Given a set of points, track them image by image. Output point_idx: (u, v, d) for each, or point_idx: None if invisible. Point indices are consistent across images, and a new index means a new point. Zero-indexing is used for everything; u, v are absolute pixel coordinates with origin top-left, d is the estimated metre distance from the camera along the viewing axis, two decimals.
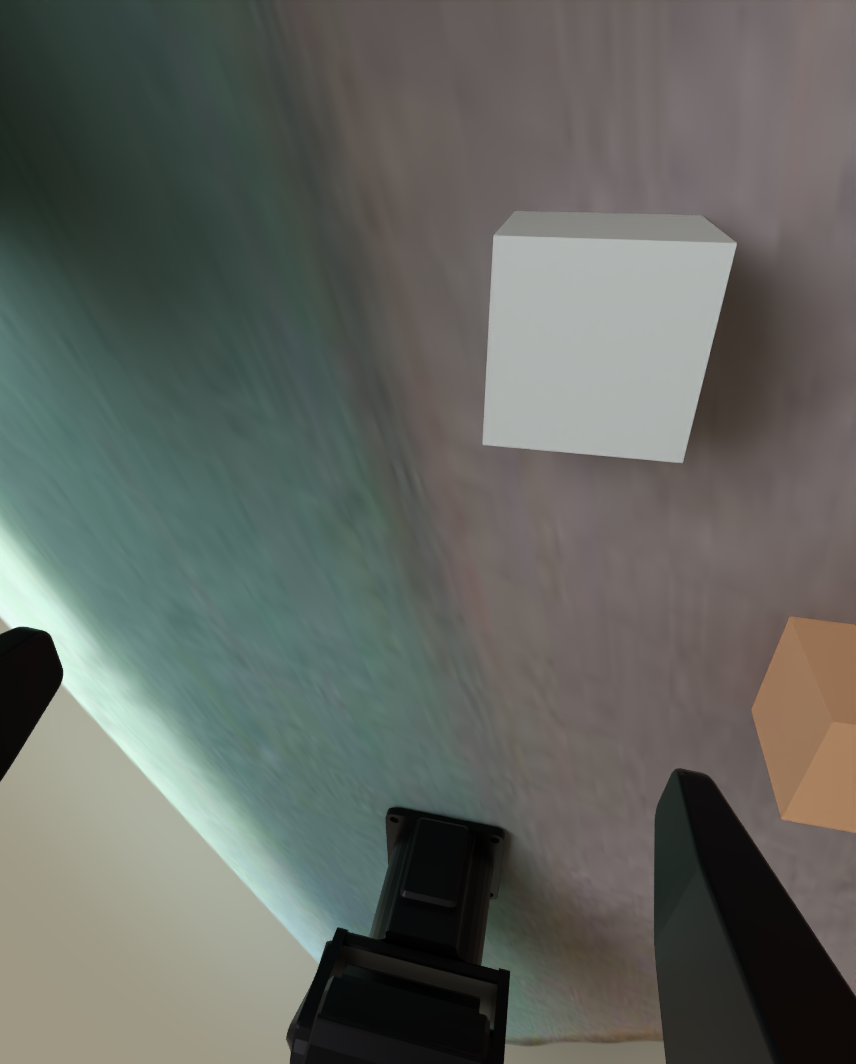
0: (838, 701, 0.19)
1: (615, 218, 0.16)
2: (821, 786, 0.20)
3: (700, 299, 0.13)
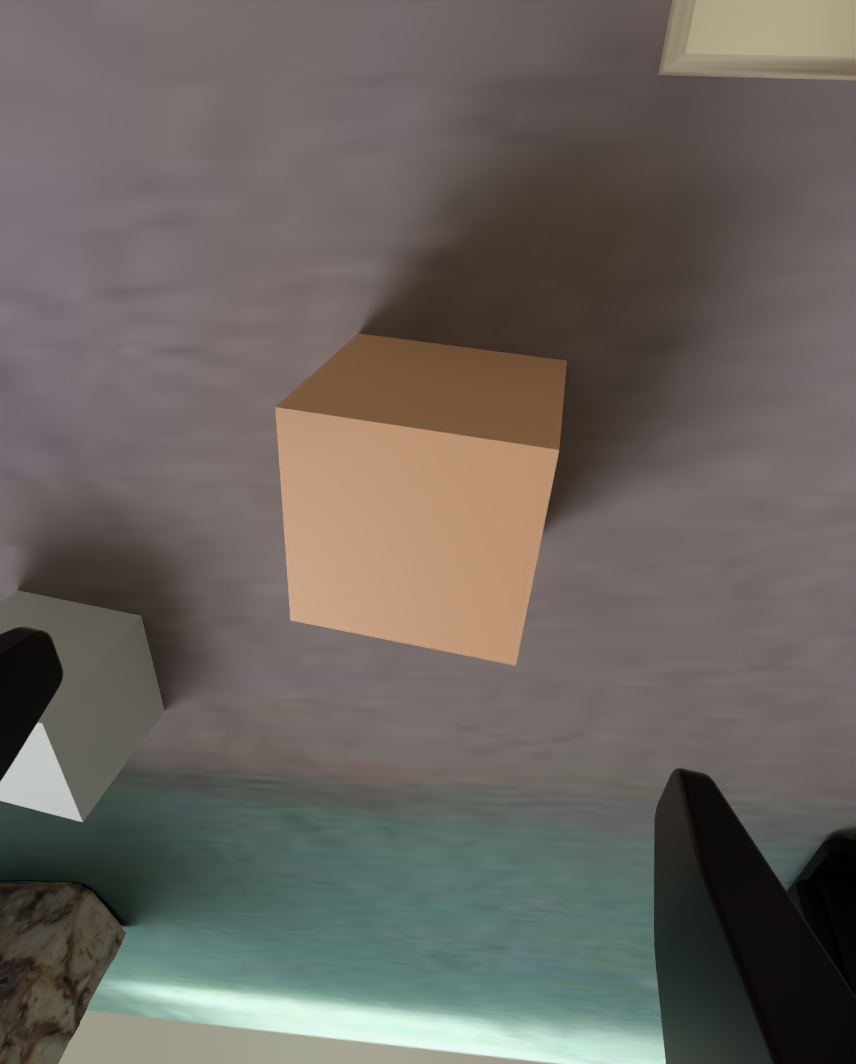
0: None
1: None
2: (424, 624, 0.13)
3: None
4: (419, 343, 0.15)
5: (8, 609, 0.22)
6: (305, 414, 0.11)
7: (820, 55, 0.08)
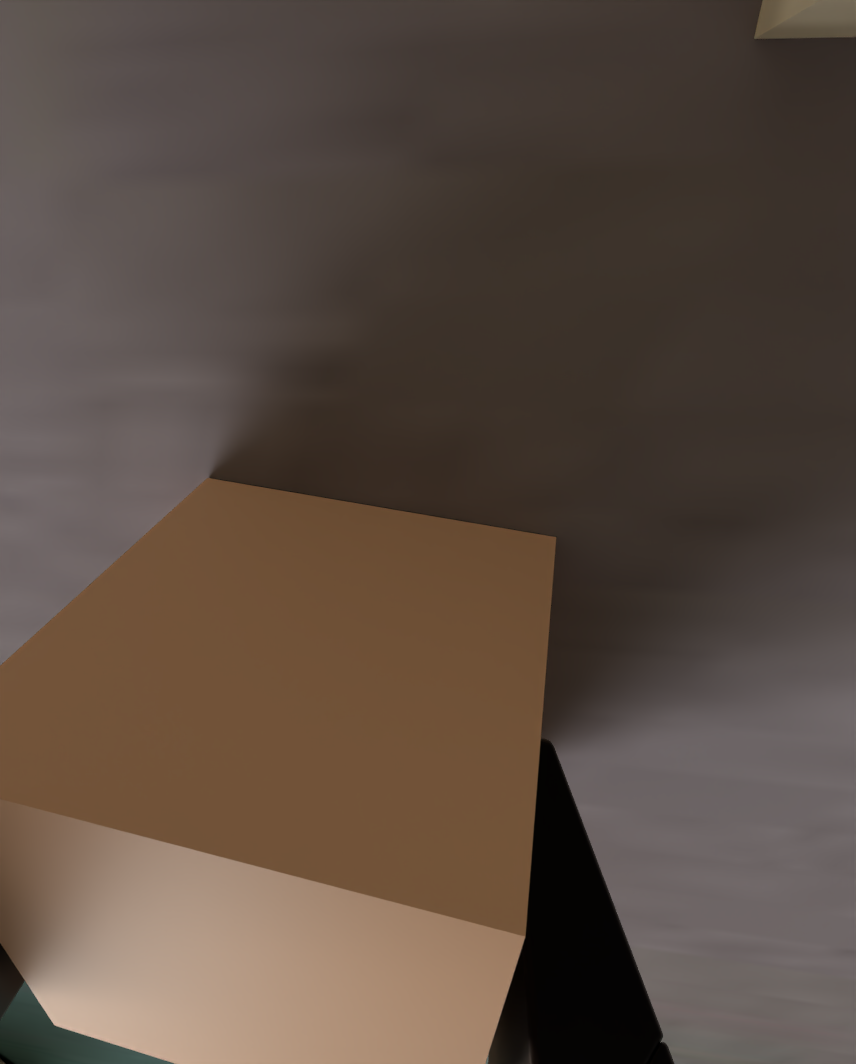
0: None
1: None
2: None
3: None
4: (302, 504, 0.09)
5: None
6: None
7: None
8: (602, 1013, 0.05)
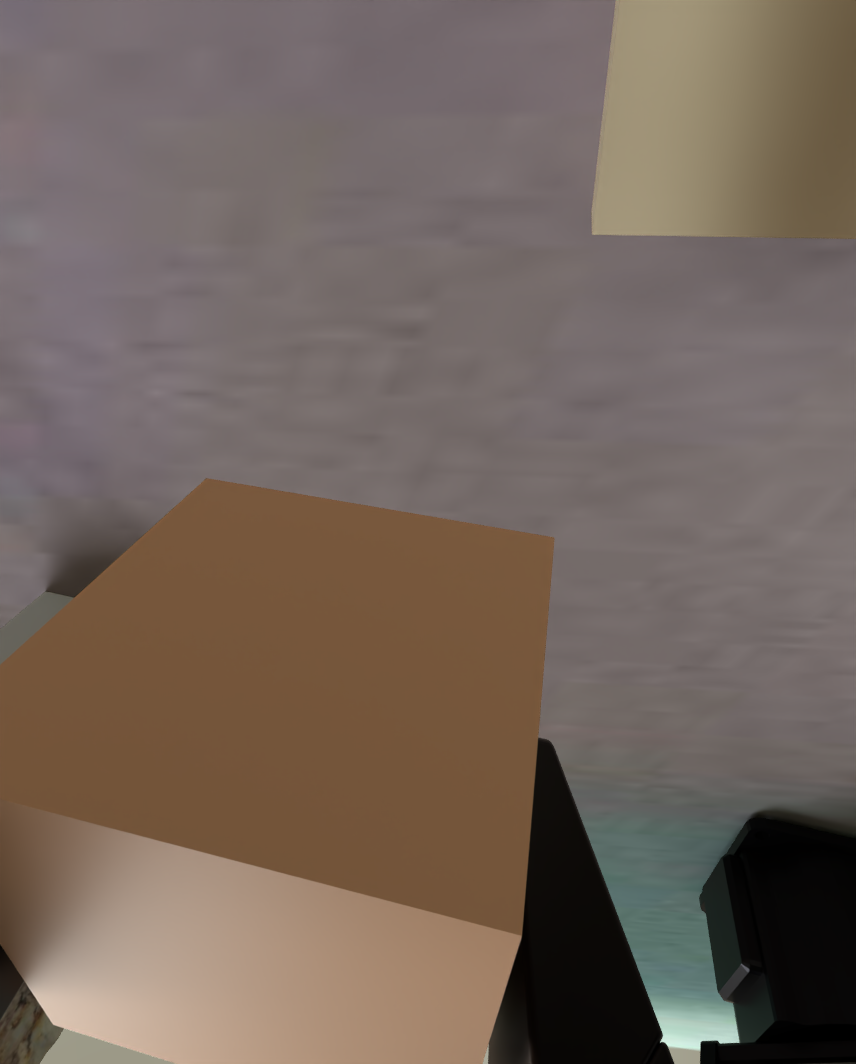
0: None
1: None
2: None
3: None
4: (301, 504, 0.09)
5: (38, 608, 0.25)
6: None
7: (687, 235, 0.11)
8: (602, 1013, 0.05)
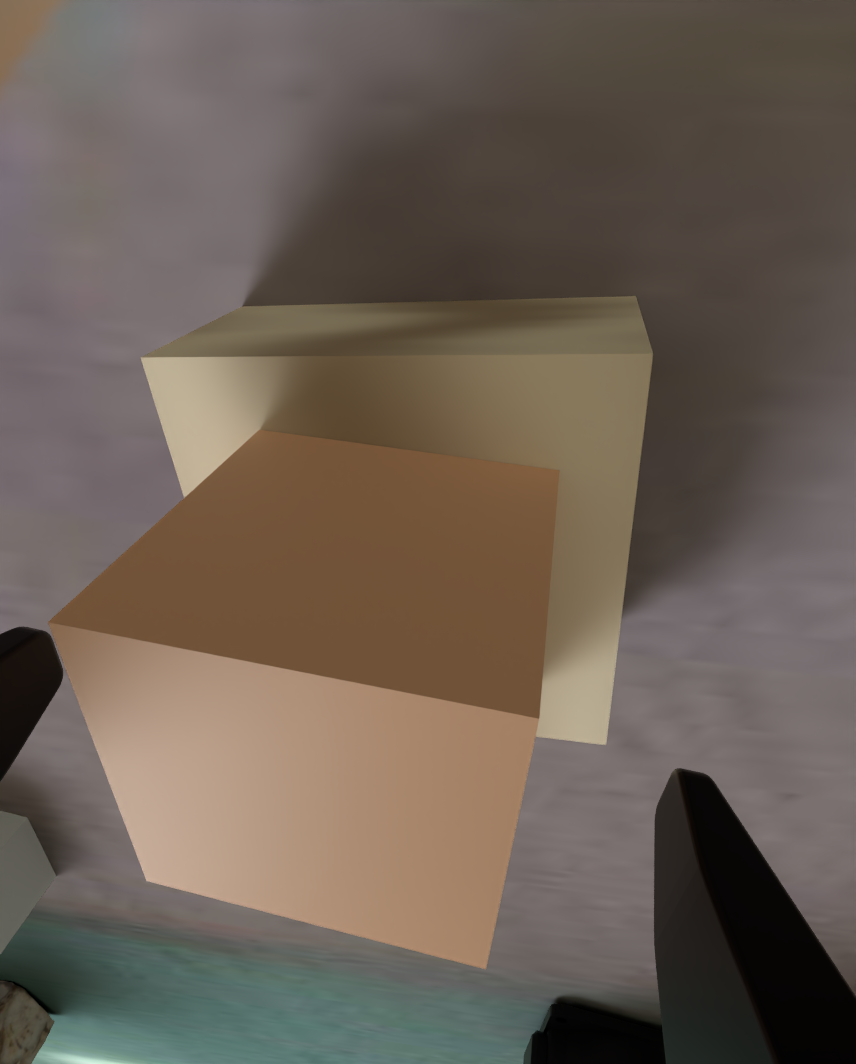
0: None
1: None
2: (341, 909, 0.08)
3: None
4: (342, 448, 0.10)
5: None
6: (100, 633, 0.06)
7: None
8: None
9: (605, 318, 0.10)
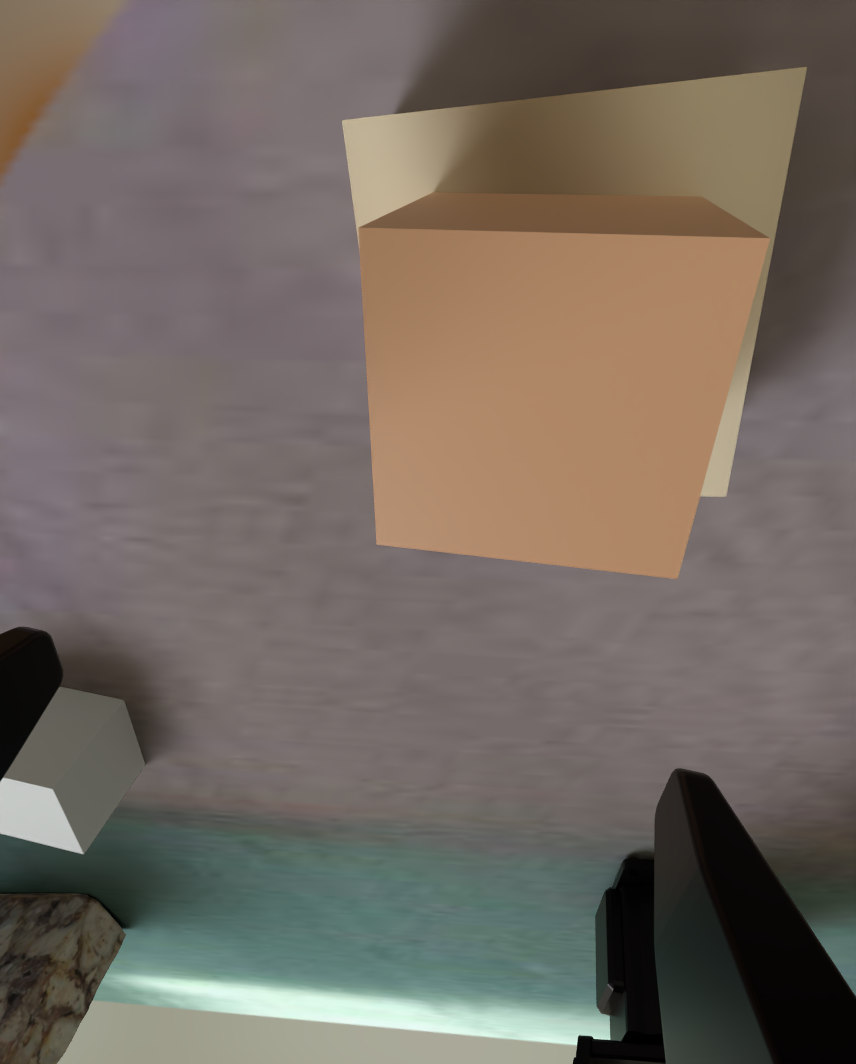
0: None
1: None
2: (554, 532, 0.10)
3: None
4: (510, 194, 0.12)
5: None
6: (399, 235, 0.08)
7: None
8: None
9: None
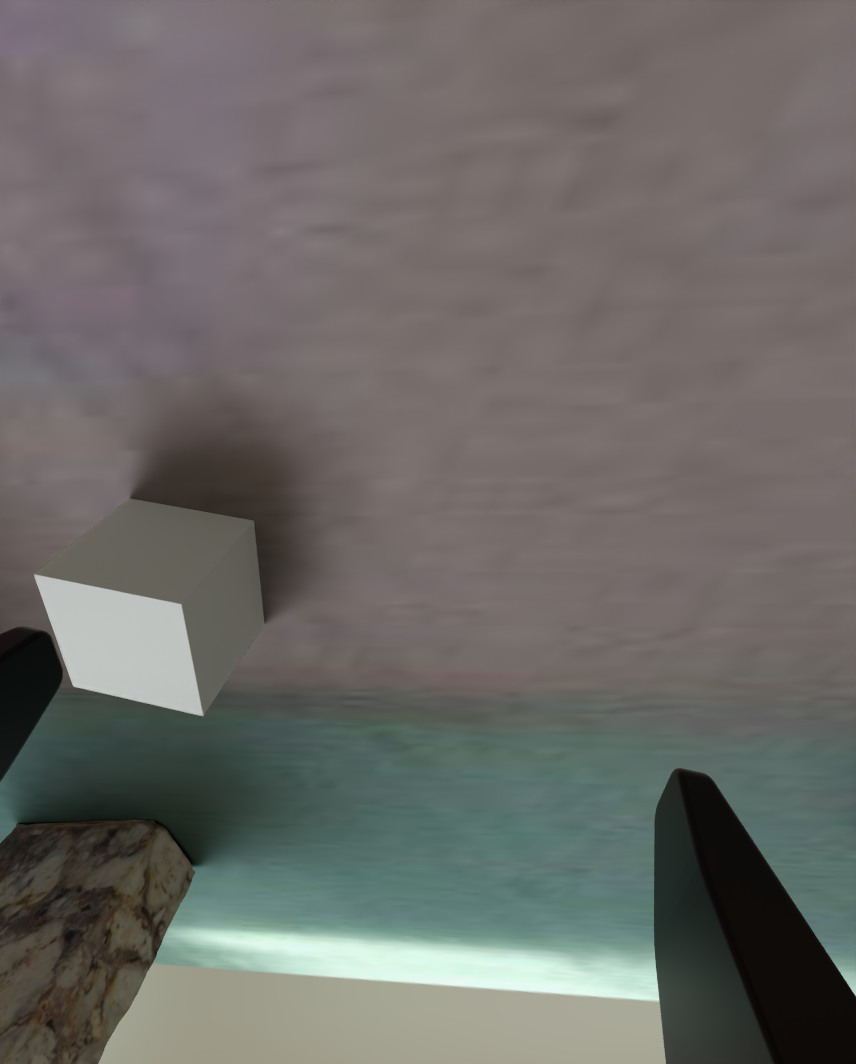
0: None
1: None
2: None
3: (69, 592, 0.20)
4: None
5: (125, 513, 0.23)
6: None
7: None
8: None
9: None
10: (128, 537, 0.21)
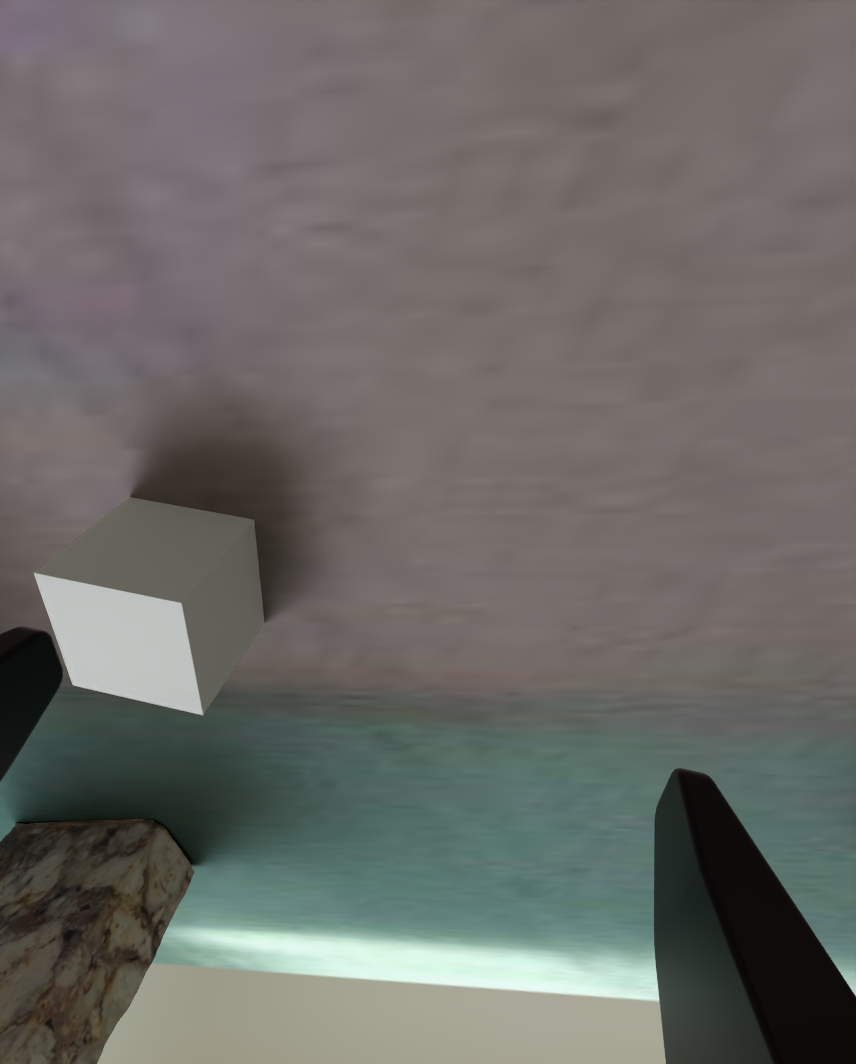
0: None
1: None
2: None
3: (69, 591, 0.19)
4: None
5: (125, 512, 0.23)
6: None
7: None
8: None
9: None
10: (128, 536, 0.21)
